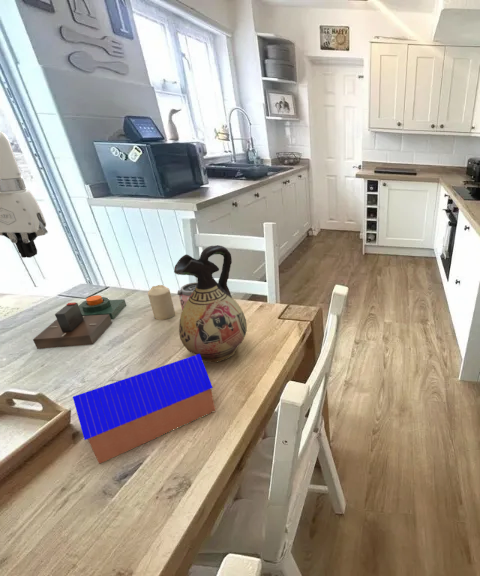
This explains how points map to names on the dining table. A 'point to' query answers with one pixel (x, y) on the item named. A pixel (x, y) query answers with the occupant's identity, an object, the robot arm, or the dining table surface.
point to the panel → (73, 333)
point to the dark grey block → (69, 317)
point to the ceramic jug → (210, 309)
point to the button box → (103, 308)
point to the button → (94, 300)
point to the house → (144, 406)
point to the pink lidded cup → (186, 293)
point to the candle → (161, 302)
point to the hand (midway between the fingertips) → (29, 255)
